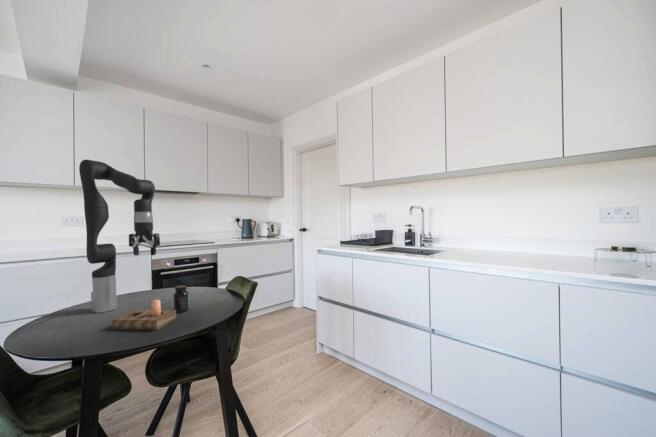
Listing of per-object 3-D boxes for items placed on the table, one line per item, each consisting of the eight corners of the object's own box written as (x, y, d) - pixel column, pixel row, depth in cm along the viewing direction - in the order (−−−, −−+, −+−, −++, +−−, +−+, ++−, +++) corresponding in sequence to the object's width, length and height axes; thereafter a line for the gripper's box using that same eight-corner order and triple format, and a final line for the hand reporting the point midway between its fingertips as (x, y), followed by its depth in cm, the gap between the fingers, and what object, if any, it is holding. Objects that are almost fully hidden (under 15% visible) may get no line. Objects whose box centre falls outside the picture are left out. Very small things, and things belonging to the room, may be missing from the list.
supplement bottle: (192, 308, 139) (191, 284, 139) (184, 313, 132) (183, 288, 132) (179, 308, 140) (178, 284, 139) (170, 313, 133) (169, 288, 133)
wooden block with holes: (112, 329, 116) (112, 319, 116) (135, 318, 128) (135, 309, 127) (157, 330, 114) (157, 320, 114) (176, 318, 126) (175, 309, 125)
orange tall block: (149, 323, 118) (148, 302, 118) (155, 319, 122) (154, 299, 122) (157, 323, 118) (156, 302, 118) (162, 320, 122) (162, 299, 122)
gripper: (123, 222, 129) (124, 256, 130) (151, 221, 128) (153, 256, 128) (135, 221, 137) (137, 254, 137) (162, 220, 135) (164, 253, 136)
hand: (144, 255), depth 133 cm, fingers open, 8 cm apart
